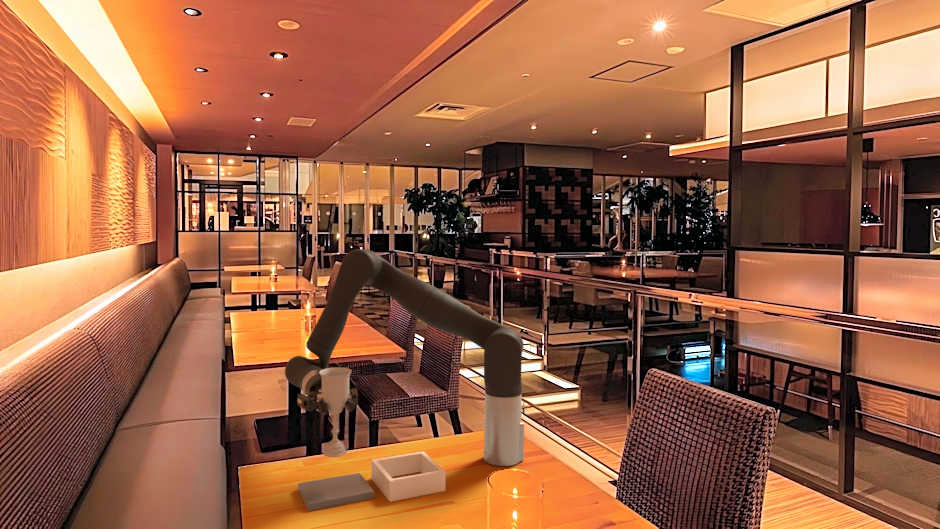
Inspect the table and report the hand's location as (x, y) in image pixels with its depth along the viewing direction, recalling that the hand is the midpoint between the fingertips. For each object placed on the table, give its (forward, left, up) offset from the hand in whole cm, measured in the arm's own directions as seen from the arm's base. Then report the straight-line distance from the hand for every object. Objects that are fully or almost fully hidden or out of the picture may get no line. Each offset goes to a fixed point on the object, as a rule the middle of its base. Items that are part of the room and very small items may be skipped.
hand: (338, 408), depth 129 cm
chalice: (0, -3, -11) cm, 11 cm away
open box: (-16, -1, -20) cm, 25 cm away
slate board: (0, -3, -20) cm, 20 cm away
